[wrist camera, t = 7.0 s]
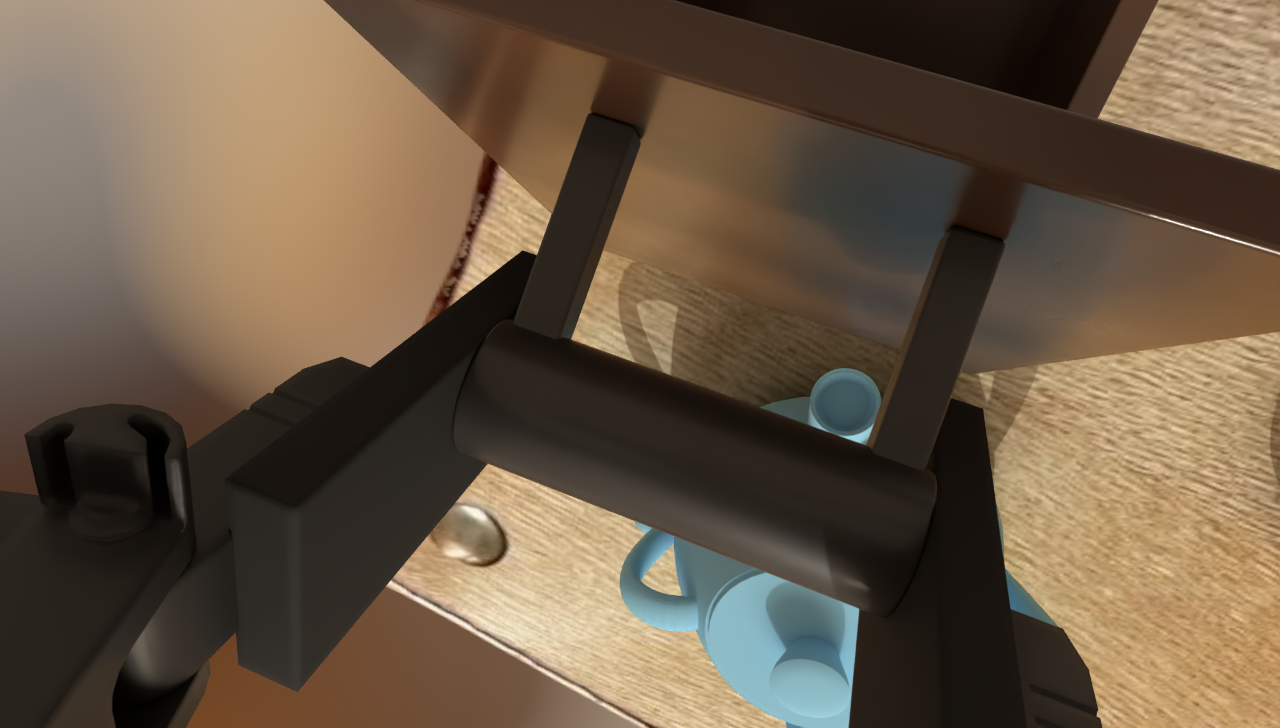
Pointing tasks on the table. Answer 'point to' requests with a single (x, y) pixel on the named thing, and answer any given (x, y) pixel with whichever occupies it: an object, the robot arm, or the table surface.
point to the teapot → (775, 594)
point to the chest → (976, 39)
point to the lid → (806, 257)
